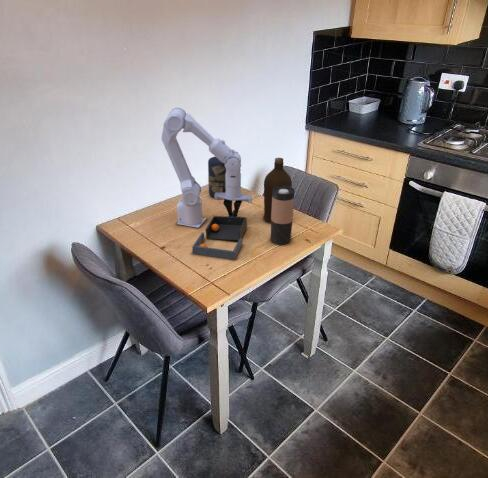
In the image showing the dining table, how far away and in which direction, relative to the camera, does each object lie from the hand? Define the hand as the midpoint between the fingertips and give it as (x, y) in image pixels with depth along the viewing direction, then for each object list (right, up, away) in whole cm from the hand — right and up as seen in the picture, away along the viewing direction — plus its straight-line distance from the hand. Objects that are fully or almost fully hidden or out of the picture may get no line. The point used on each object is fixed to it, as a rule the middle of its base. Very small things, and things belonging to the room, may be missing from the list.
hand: (233, 216), depth 169 cm
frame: (-6, -12, -16) cm, 21 cm away
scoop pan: (-1, -4, -4) cm, 6 cm away
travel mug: (+17, -9, -11) cm, 22 cm away
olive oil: (+17, -1, +4) cm, 18 cm away
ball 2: (-7, -4, -7) cm, 11 cm away
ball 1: (-11, -12, -18) cm, 24 cm away
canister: (-5, +11, +25) cm, 28 cm away
